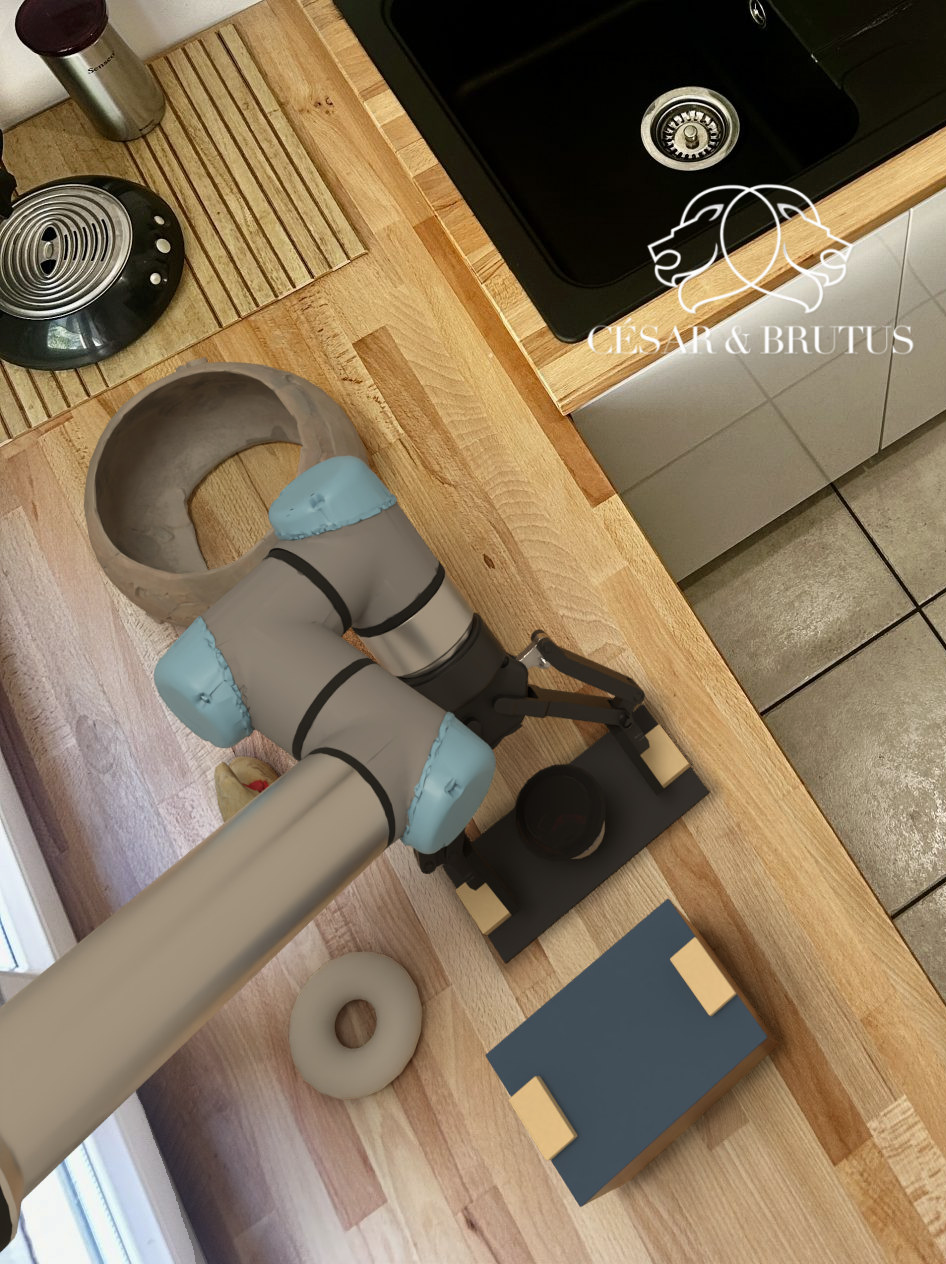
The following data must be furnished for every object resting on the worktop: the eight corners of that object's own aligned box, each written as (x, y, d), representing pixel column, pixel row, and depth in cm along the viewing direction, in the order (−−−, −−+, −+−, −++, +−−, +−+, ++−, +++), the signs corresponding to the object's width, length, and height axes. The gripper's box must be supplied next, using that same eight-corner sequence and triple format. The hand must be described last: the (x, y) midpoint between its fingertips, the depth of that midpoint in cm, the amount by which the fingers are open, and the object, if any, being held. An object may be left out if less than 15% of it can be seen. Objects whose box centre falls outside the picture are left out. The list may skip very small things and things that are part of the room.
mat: (506, 963, 115) (501, 962, 113) (443, 866, 118) (437, 863, 116) (709, 792, 120) (707, 788, 118) (643, 704, 124) (640, 699, 122)
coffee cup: (518, 811, 119) (494, 790, 111) (595, 766, 121) (577, 742, 112) (556, 892, 116) (534, 877, 108) (635, 845, 118) (619, 827, 109)
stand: (630, 1181, 107) (581, 1207, 86) (551, 1058, 111) (486, 1055, 90) (779, 1044, 111) (768, 1037, 90) (698, 930, 115) (668, 898, 94)
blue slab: (581, 1207, 86) (576, 1209, 85) (486, 1055, 90) (479, 1054, 89) (768, 1037, 90) (766, 1036, 88) (668, 898, 94) (665, 895, 92)
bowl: (87, 516, 134) (6, 456, 121) (296, 358, 141) (241, 285, 127) (223, 708, 125) (152, 665, 112) (440, 530, 132) (397, 469, 119)
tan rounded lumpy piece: (228, 860, 119) (180, 843, 110) (228, 760, 123) (181, 736, 114) (296, 847, 119) (254, 829, 111) (294, 748, 123) (253, 723, 114)
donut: (434, 1081, 111) (419, 938, 116) (423, 1082, 108) (408, 935, 113) (301, 1113, 111) (292, 968, 115) (286, 1115, 107) (277, 966, 112)
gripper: (558, 521, 114) (694, 717, 121) (277, 734, 107) (438, 928, 114) (589, 552, 107) (730, 758, 114) (291, 781, 100) (461, 984, 107)
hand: (584, 843), depth 114 cm, fingers open, 13 cm apart
